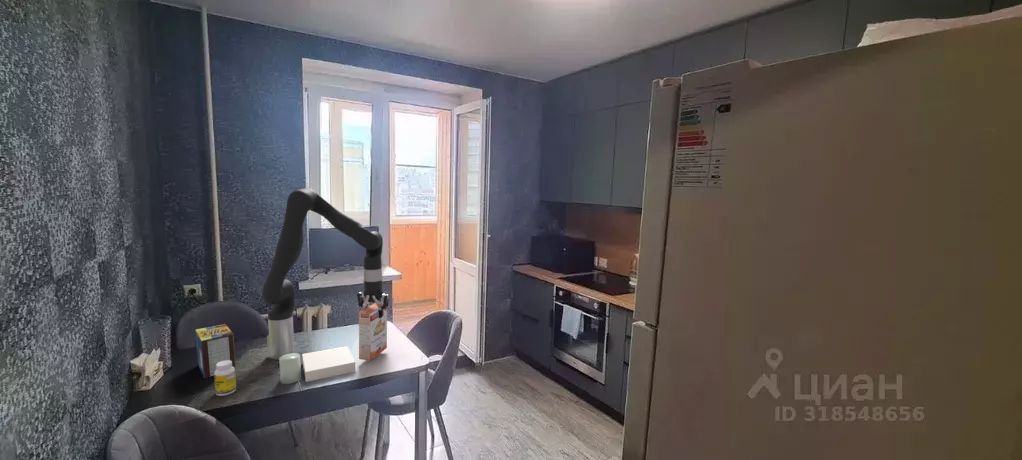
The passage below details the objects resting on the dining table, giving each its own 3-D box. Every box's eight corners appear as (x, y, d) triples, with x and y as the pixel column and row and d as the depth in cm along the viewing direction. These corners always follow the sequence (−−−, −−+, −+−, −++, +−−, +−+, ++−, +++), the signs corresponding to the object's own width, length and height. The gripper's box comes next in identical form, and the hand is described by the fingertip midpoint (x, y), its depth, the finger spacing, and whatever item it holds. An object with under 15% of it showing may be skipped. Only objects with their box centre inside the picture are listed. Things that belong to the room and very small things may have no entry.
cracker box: (371, 361, 170) (370, 313, 167) (358, 359, 171) (357, 311, 168) (388, 348, 183) (387, 303, 181) (375, 346, 184) (375, 301, 182)
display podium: (305, 381, 155) (305, 371, 155) (302, 363, 171) (302, 354, 170) (355, 371, 164) (355, 362, 164) (348, 354, 180) (347, 345, 179)
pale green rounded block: (276, 382, 154) (274, 360, 153) (289, 374, 161) (287, 352, 160) (292, 384, 153) (291, 361, 152) (305, 375, 160) (304, 354, 159)
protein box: (228, 358, 174) (225, 323, 172) (236, 370, 163) (233, 333, 161) (197, 365, 167) (194, 329, 165) (203, 379, 156) (200, 340, 154)
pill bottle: (211, 394, 145) (209, 364, 144) (228, 386, 151) (226, 357, 150) (223, 398, 143) (221, 368, 142) (240, 389, 149) (238, 360, 147)
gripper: (352, 279, 170) (353, 318, 172) (384, 282, 168) (385, 321, 170) (361, 275, 177) (362, 312, 180) (392, 277, 175) (393, 315, 177)
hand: (373, 316), depth 175 cm, fingers closed on cracker box, 6 cm apart
